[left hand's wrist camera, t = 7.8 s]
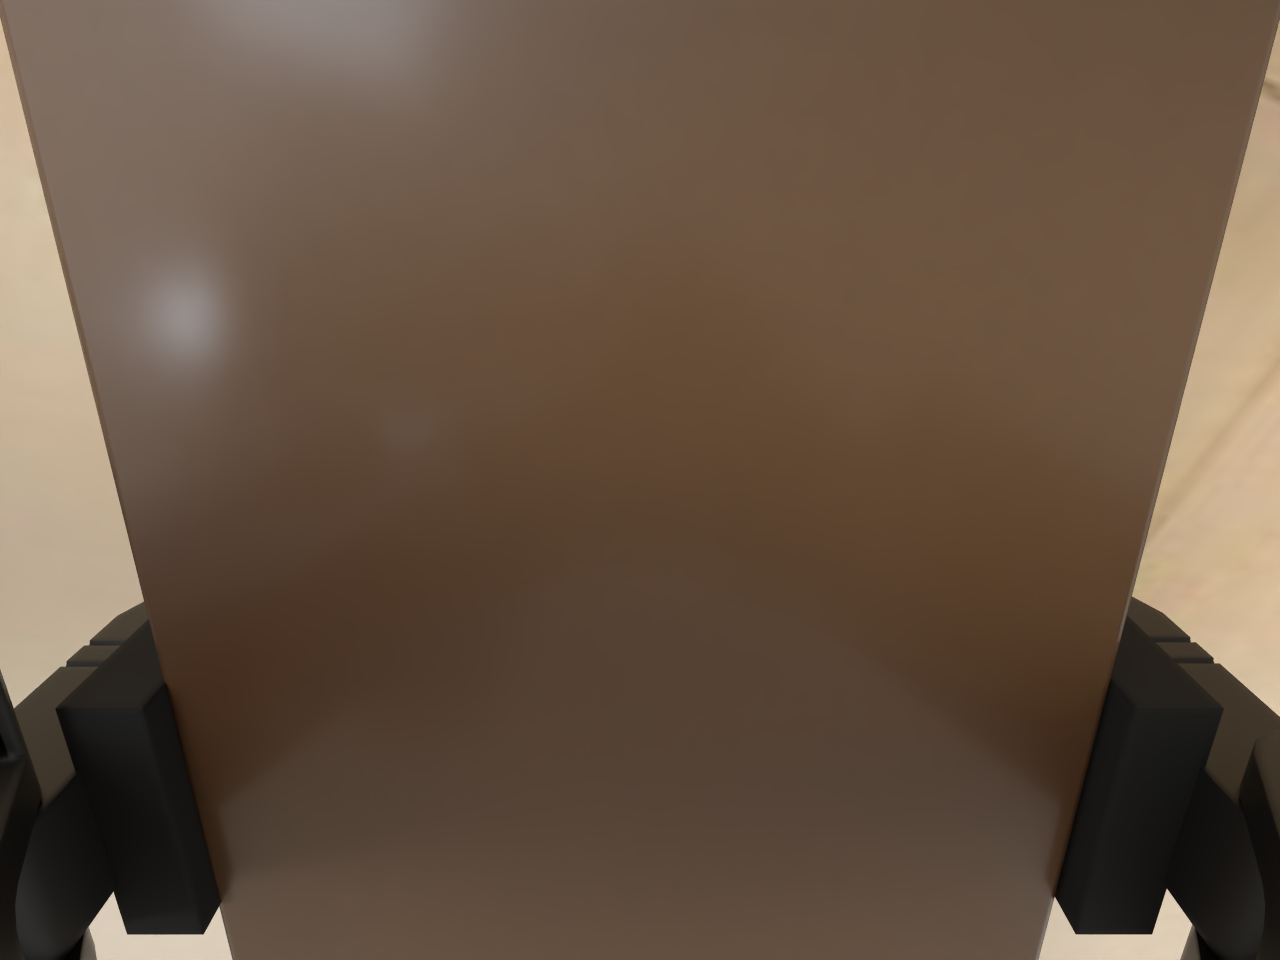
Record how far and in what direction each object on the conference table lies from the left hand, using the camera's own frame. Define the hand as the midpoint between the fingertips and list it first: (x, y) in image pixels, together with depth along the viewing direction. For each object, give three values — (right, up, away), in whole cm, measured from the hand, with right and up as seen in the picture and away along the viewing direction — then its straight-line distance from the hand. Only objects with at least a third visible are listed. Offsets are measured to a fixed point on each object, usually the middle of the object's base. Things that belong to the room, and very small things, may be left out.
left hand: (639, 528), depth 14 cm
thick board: (0, +25, -9) cm, 26 cm away
